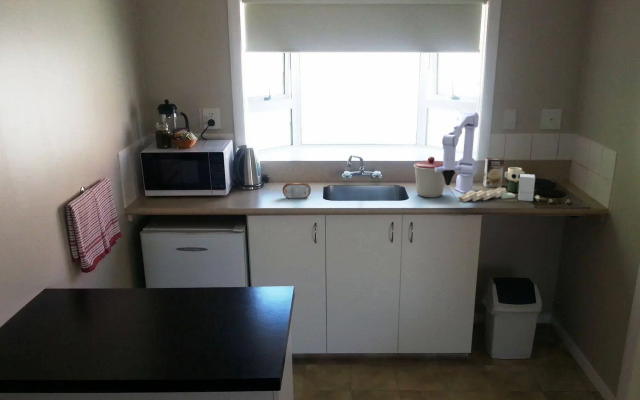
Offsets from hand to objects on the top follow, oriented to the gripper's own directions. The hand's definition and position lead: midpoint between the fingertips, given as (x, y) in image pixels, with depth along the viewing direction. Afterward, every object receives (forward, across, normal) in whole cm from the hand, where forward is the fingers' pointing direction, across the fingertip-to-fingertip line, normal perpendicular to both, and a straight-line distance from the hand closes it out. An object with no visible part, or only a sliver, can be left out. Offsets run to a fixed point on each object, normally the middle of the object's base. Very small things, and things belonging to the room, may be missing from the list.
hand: (447, 184), depth 263 cm
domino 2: (+8, +14, 0) cm, 16 cm away
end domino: (+9, +31, +1) cm, 32 cm away
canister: (+10, -2, +16) cm, 18 cm away
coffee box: (+10, +41, +23) cm, 48 cm away
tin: (+10, -72, +31) cm, 79 cm away
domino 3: (+8, +20, 0) cm, 22 cm away
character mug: (+10, +45, +9) cm, 47 cm away
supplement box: (+10, +42, -6) cm, 44 cm away
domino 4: (+8, +27, +1) cm, 28 cm away
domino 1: (+8, +8, 0) cm, 12 cm away
